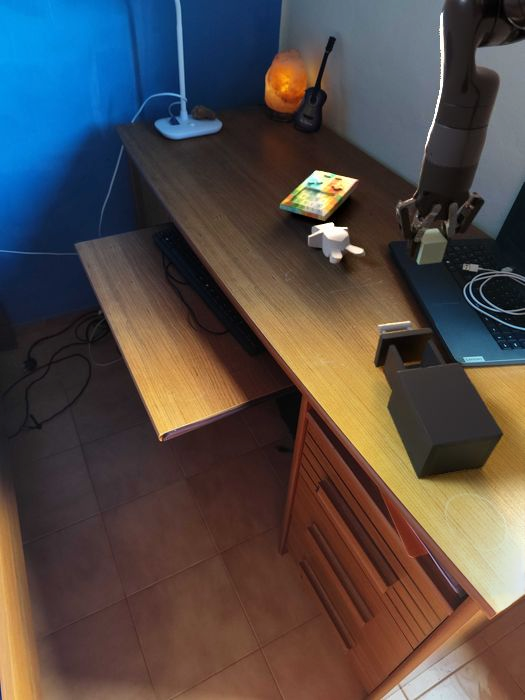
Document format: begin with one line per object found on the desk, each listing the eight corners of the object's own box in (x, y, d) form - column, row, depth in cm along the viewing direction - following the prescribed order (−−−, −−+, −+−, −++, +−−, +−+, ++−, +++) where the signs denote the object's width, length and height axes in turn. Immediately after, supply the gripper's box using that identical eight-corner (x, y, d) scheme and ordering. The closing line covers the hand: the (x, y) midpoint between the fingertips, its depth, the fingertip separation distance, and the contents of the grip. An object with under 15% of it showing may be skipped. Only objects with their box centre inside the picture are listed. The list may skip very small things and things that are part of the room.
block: (431, 248, 80) (437, 228, 77) (441, 262, 77) (447, 241, 74) (409, 251, 79) (414, 230, 76) (418, 265, 76) (423, 244, 74)
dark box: (386, 406, 73) (396, 371, 67) (444, 398, 74) (459, 362, 68) (417, 478, 65) (432, 445, 59) (482, 468, 66) (504, 434, 59)
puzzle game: (359, 176, 117) (324, 212, 105) (356, 194, 120) (323, 231, 109) (317, 166, 121) (279, 200, 110) (316, 183, 125) (279, 218, 113)
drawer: (365, 345, 82) (371, 316, 77) (411, 338, 82) (420, 310, 78) (397, 417, 71) (406, 389, 66) (450, 409, 72) (462, 381, 67)
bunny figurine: (338, 214, 106) (371, 241, 95) (337, 235, 109) (369, 264, 98) (300, 222, 104) (329, 251, 93) (300, 243, 107) (328, 273, 96)
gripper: (414, 169, 62) (392, 274, 75) (513, 159, 64) (476, 264, 76) (394, 147, 68) (377, 248, 80) (487, 138, 69) (456, 239, 81)
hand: (425, 255), depth 78 cm, fingers closed on block, 4 cm apart
